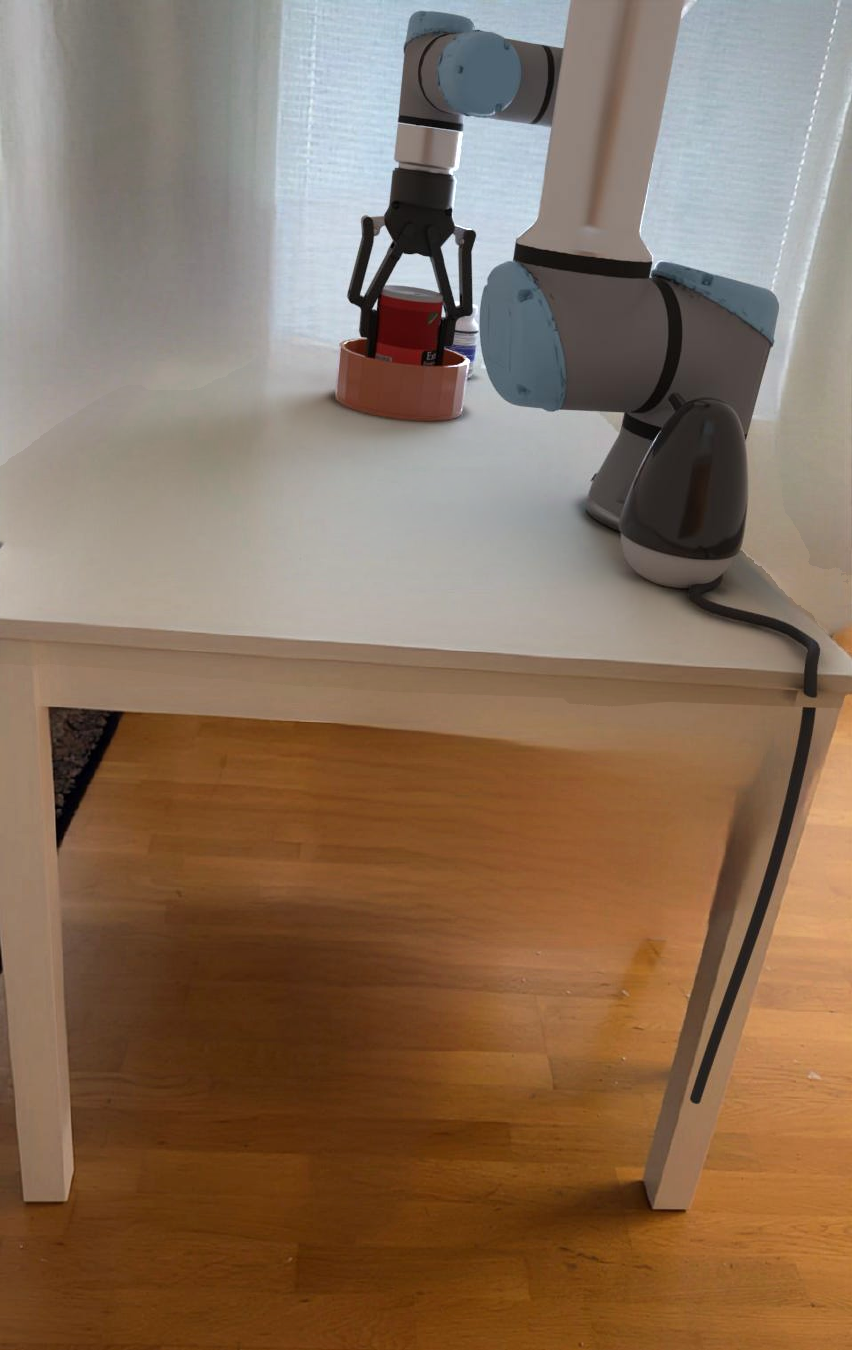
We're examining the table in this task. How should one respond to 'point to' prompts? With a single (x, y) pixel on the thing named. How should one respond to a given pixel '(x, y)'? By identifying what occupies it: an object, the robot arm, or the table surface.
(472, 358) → the pill bottle
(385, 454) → the table surface
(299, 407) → the table surface
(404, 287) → the canned food
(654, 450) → the dark two-tone rounded device
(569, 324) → the robot arm
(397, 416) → the terracotta bowl
